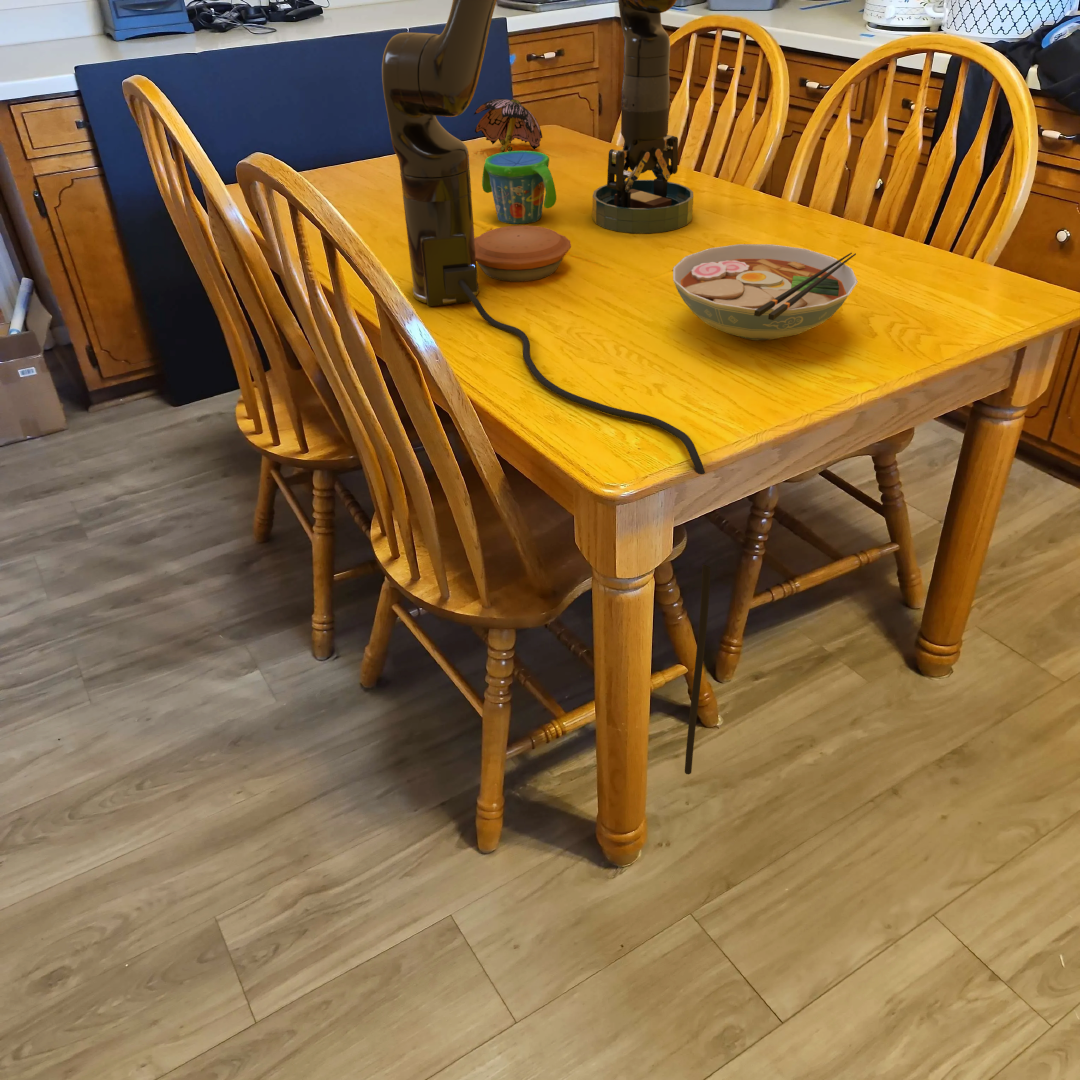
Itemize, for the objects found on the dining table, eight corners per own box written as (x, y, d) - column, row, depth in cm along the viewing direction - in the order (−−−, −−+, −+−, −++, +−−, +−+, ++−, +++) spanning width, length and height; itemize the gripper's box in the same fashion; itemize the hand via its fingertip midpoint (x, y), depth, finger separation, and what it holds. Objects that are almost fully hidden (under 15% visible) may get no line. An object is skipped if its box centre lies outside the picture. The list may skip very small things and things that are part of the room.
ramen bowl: (729, 281, 137) (734, 224, 132) (881, 318, 125) (893, 257, 120) (629, 340, 121) (630, 278, 117) (792, 389, 109) (801, 322, 105)
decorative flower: (560, 99, 194) (501, 86, 185) (559, 159, 196) (500, 149, 187) (517, 110, 205) (459, 98, 196) (516, 167, 207) (459, 158, 198)
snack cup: (467, 216, 165) (463, 155, 159) (515, 203, 170) (512, 143, 164) (523, 238, 155) (521, 173, 149) (572, 223, 160) (572, 160, 154)
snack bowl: (705, 231, 155) (707, 204, 152) (606, 240, 152) (606, 213, 150) (674, 201, 168) (675, 176, 165) (583, 210, 166) (583, 184, 163)
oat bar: (670, 220, 158) (671, 199, 156) (652, 226, 156) (653, 204, 154) (632, 208, 164) (632, 188, 162) (614, 214, 162) (614, 193, 160)
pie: (552, 245, 151) (551, 214, 148) (585, 279, 139) (585, 245, 136) (458, 258, 148) (455, 226, 145) (484, 293, 136) (481, 259, 133)
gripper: (630, 116, 144) (628, 223, 153) (693, 99, 151) (687, 203, 161) (596, 108, 148) (595, 213, 158) (658, 93, 156) (654, 194, 165)
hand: (642, 208), depth 159 cm, fingers open, 8 cm apart
